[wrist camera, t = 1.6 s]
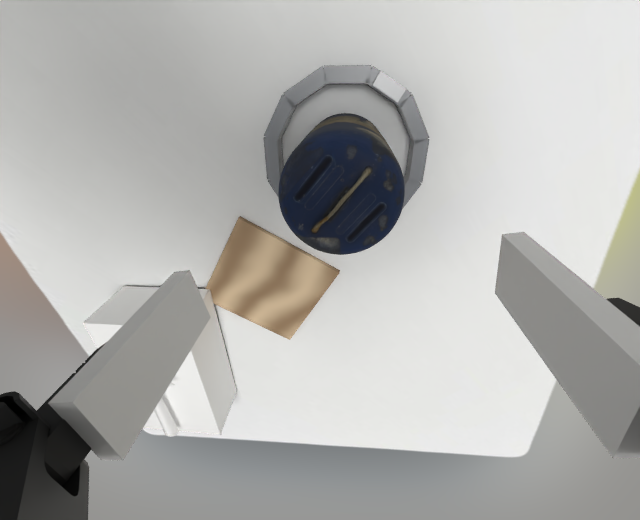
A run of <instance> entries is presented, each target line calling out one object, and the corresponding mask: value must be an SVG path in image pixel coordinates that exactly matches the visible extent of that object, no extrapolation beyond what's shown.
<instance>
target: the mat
mask: <svg viewBox="0 0 640 520" xmlns="http://www.w3.org/2000/svg"><path fill="white" fill-rule="evenodd" d="M339 271H340V270H338V269H336V268H334V267H332V266H330V265H329V264H327V263H325V262H323V261H321V260H319V259H318V258H316V257H314V256H312V255H310V254H308V253H307V252H305V251H303V250H301V249H299V248H297V247H295V246H294V245H292V244H290V243H288V242H286V241H284V240H283V239H281V238H279V237H277V236H275V235H273V234H272V233H270V232H268V231H266V230H264V229H262V228H261V227H259V226H257V225H255V224H253V223H251V222H249V221H248V220H246V219H244V218H242V217H239V218H238V220H237V222H236V224H235V227H234V229H233V231H232V233H231V235H230V237H229V239H228V242H227V244H226V246H225V248H224V250H223V252H222V255H221V257H220V259H219V261H218V263H217V265H216V267H215V270H214V272H213V274H212V276H211V278H210V280H209V282H208V285H207V287H206V289H210V292H211V296H212V299H213V303H214V304H216V305H218V306H220V307H222V308H224V309H226V310H228V311H230V312H232V313H235V314H237V315H239V316H241V317H243V318H245V319H247V320H249V321H251V322H253V323H256V324H258V325H260V326H262V327H264V328H266V329H268V330H270V331H272V332H274V333H277V334H279V335H281V336H283V337H285V338H287V339H289V340H290V339H291V337H292V336H293V335H294V333H295V332H296V331H297V329H298V328H299V327H300V325H301V324H302V322H303V321H304V320H305V318H306V317H307V316H308V314H309V313H310V312H311V310H312V309H313V308H314V306H315V305H316V304H317V302H318V301H319V300H320V298H321V297H322V295H323V294H324V293H325V291H326V290H327V289H328V287H329V286H330V285H331V283H332V282H333V281H334V279H335V278H336V277H337V275H338V274H339Z"/></svg>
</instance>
